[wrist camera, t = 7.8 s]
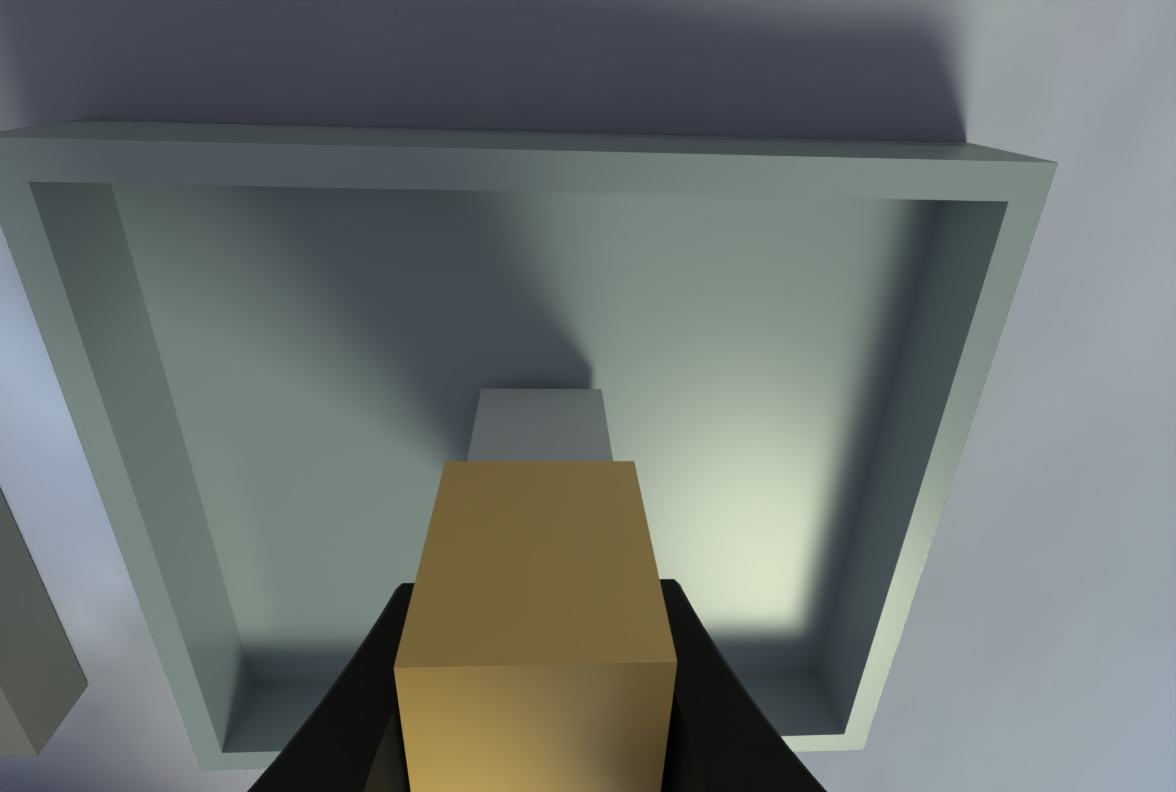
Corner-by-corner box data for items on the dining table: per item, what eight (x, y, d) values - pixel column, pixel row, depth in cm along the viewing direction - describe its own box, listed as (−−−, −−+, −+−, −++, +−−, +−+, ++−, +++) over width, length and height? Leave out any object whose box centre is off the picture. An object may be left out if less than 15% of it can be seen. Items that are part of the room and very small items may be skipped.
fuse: (607, 538, 15) (650, 873, 9) (474, 540, 15) (423, 883, 9) (616, 380, 13) (677, 662, 7) (465, 379, 13) (393, 668, 7)
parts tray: (825, 667, 19) (862, 749, 17) (244, 681, 18) (200, 770, 16) (968, 142, 13) (1057, 162, 10) (78, 120, 12) (-32, 137, 9)
